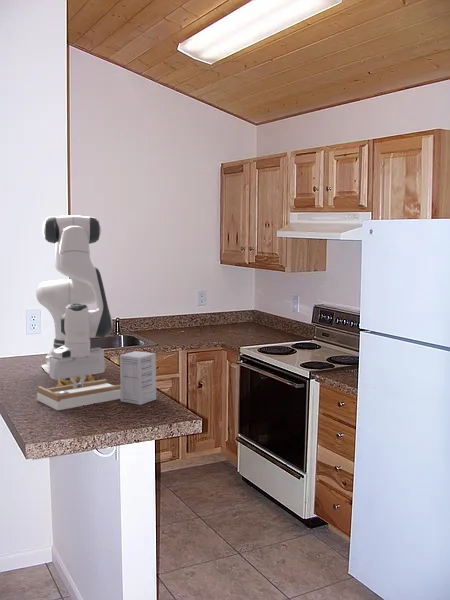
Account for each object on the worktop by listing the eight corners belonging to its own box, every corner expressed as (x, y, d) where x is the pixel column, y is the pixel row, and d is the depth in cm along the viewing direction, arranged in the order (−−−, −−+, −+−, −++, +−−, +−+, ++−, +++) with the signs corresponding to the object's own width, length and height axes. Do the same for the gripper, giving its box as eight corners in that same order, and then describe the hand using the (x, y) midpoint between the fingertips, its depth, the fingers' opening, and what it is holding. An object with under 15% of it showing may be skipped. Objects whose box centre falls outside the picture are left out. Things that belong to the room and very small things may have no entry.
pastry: (50, 388, 242) (50, 367, 241) (83, 381, 253) (83, 362, 252) (70, 394, 233) (69, 373, 232) (103, 387, 244) (103, 367, 243)
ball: (67, 393, 225) (60, 403, 223) (59, 388, 222) (52, 397, 221) (72, 396, 222) (66, 405, 220) (64, 390, 219) (58, 400, 218)
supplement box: (157, 399, 227) (157, 353, 225) (141, 405, 219) (140, 357, 217) (136, 395, 232) (135, 350, 230) (119, 401, 224) (119, 354, 222)
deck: (37, 400, 224) (37, 386, 223) (102, 389, 241) (102, 376, 240) (57, 410, 212) (57, 395, 211) (124, 397, 228) (124, 384, 228)
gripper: (99, 345, 232) (99, 382, 234) (46, 351, 219) (47, 390, 221) (108, 347, 228) (108, 385, 229) (54, 354, 214) (55, 394, 216)
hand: (78, 388), depth 225 cm, fingers closed
